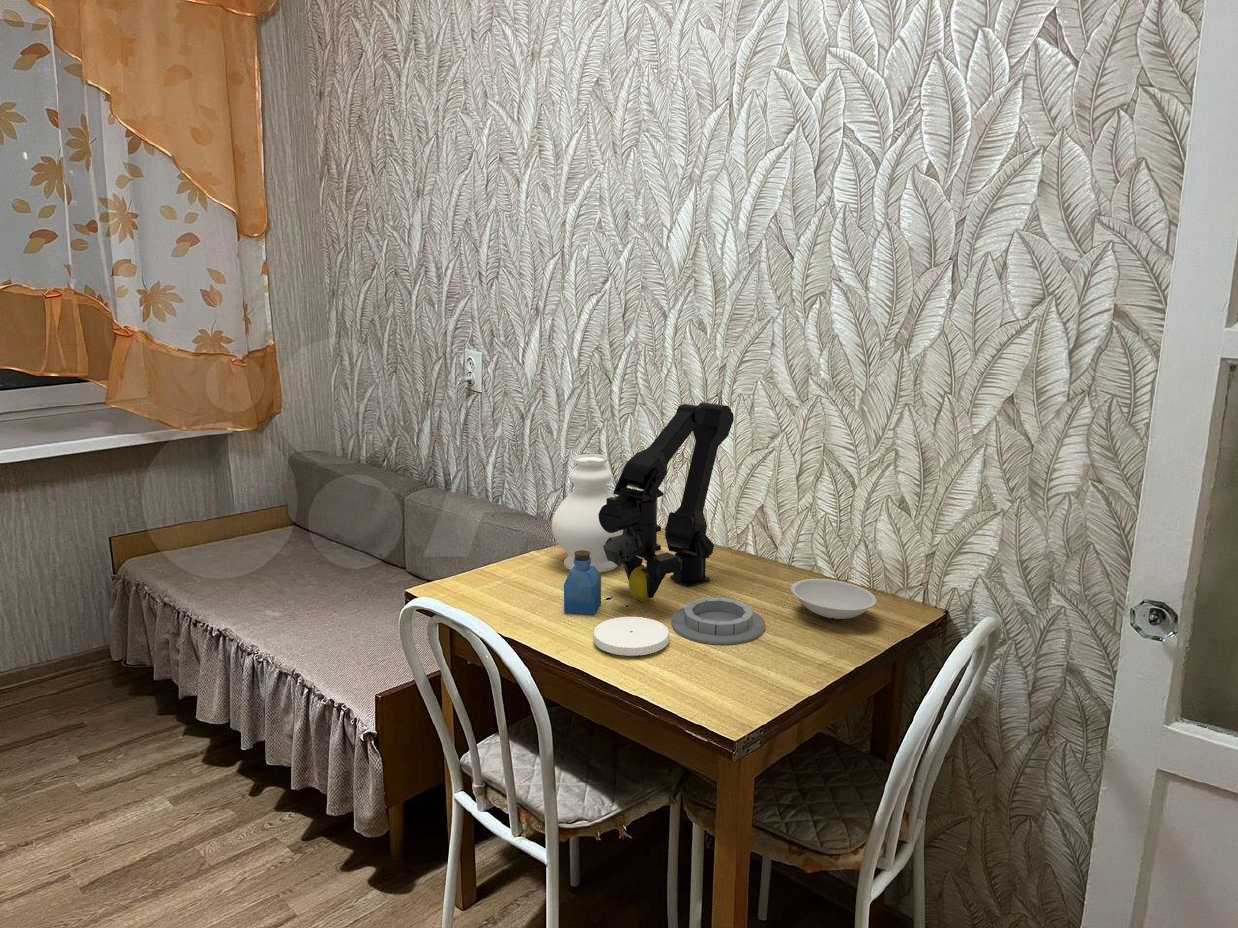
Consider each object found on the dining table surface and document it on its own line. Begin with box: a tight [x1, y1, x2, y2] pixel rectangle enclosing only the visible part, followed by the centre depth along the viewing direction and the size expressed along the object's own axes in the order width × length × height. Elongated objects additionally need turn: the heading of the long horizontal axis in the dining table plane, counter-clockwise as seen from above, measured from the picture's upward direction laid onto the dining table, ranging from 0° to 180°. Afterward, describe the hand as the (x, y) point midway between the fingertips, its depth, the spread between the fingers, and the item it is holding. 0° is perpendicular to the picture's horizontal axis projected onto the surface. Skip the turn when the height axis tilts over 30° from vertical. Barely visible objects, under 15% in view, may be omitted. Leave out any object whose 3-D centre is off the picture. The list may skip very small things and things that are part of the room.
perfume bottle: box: [563, 550, 602, 617], centre depth 191 cm, size 6×6×12 cm
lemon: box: [628, 564, 649, 603], centre depth 195 cm, size 6×6×8 cm
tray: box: [671, 597, 766, 646], centre depth 184 cm, size 18×18×3 cm
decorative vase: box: [551, 453, 623, 574], centre depth 215 cm, size 18×18×25 cm
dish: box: [790, 578, 878, 620], centre depth 187 cm, size 18×14×5 cm
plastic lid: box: [593, 616, 670, 657], centre depth 176 cm, size 14×14×2 cm
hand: (642, 593), depth 195 cm, fingers closed on lemon, 5 cm apart
